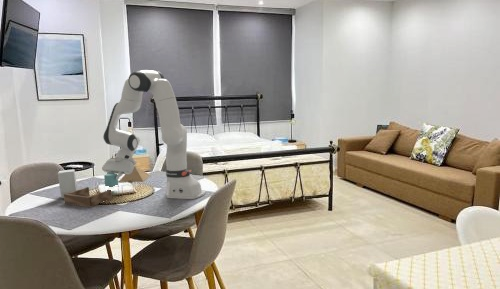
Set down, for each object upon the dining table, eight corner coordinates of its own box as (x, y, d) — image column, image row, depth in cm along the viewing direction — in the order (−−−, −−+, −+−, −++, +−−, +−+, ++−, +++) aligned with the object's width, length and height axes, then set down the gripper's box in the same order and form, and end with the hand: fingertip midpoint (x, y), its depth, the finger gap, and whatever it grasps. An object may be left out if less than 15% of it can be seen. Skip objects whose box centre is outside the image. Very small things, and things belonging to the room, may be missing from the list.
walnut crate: (88, 195, 202) (87, 187, 202) (112, 198, 195) (111, 189, 194) (64, 203, 189) (63, 194, 188) (89, 207, 182) (88, 197, 181)
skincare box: (78, 194, 206) (75, 168, 204) (77, 197, 200) (74, 170, 198) (61, 196, 203) (59, 170, 201) (60, 198, 198) (57, 172, 195)
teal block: (118, 189, 208) (117, 173, 207) (112, 191, 203) (110, 175, 202) (112, 188, 210) (110, 173, 209) (105, 190, 206) (104, 175, 204)
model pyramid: (117, 182, 231) (116, 167, 229) (127, 176, 248) (125, 162, 246) (143, 182, 230) (142, 167, 229) (151, 175, 248) (150, 161, 246)
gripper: (106, 154, 215) (94, 174, 208) (132, 156, 207) (121, 177, 200) (112, 160, 220) (101, 180, 213) (138, 162, 212) (128, 183, 204)
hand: (111, 178), depth 206 cm, fingers closed on teal block, 5 cm apart
